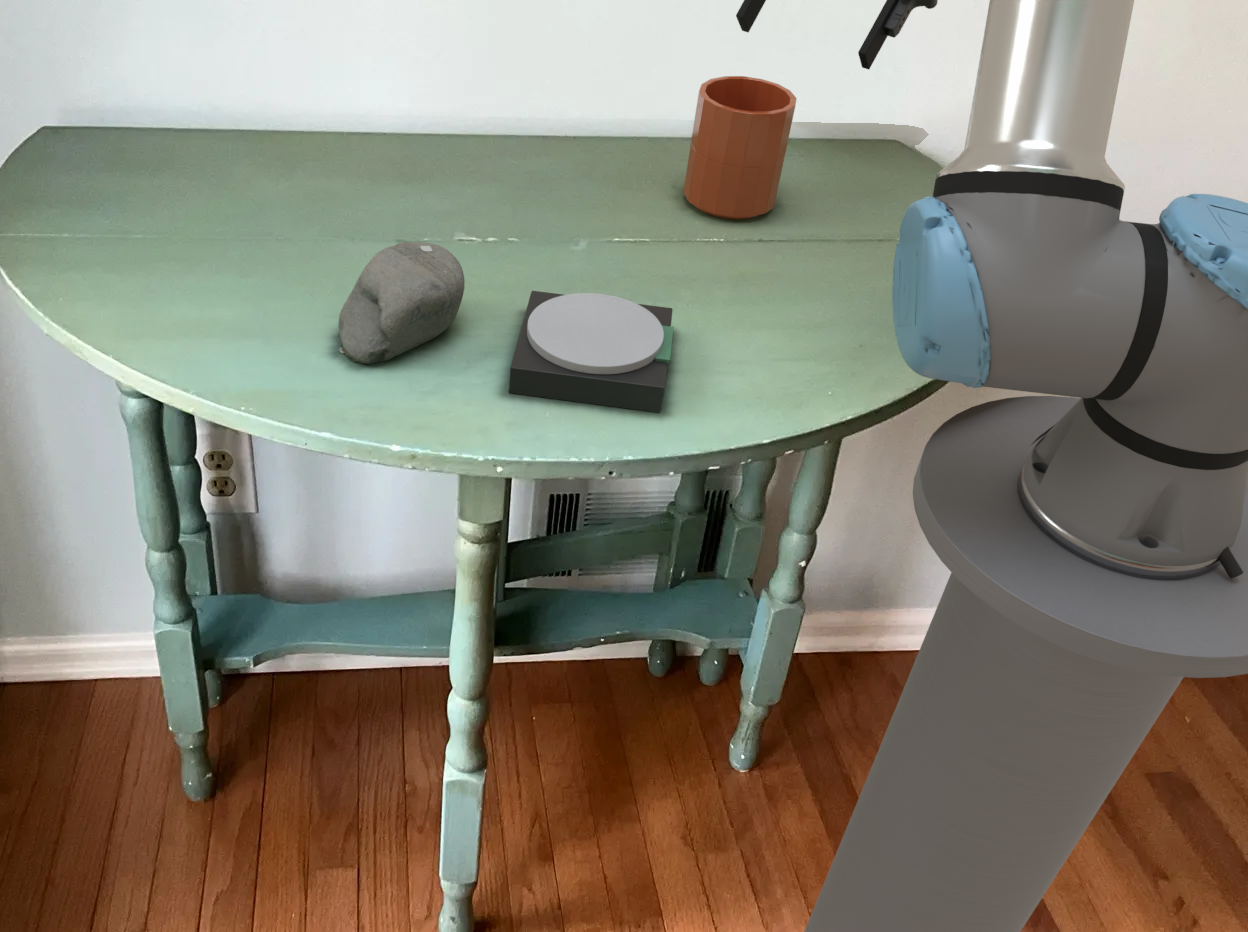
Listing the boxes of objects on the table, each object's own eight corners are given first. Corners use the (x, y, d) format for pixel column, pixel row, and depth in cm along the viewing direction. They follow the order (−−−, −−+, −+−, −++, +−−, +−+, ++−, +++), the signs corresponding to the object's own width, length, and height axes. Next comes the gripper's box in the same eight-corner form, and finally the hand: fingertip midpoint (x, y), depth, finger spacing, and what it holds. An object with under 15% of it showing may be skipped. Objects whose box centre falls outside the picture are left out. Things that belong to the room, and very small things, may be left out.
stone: (311, 321, 99) (357, 211, 95) (395, 339, 105) (442, 237, 101) (361, 376, 94) (412, 262, 90) (447, 392, 100) (498, 286, 96)
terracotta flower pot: (792, 211, 120) (816, 104, 113) (721, 230, 116) (741, 120, 109) (734, 175, 126) (753, 70, 118) (664, 191, 122) (680, 84, 114)
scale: (671, 332, 101) (676, 299, 99) (663, 413, 93) (668, 379, 90) (529, 314, 102) (532, 281, 100) (508, 393, 93) (510, 358, 91)
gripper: (1030, -99, 115) (921, 97, 116) (801, -150, 125) (704, 30, 126) (1029, -153, 108) (914, 56, 109) (787, -203, 119) (684, -12, 120)
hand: (801, 42), depth 118 cm, fingers open, 13 cm apart
